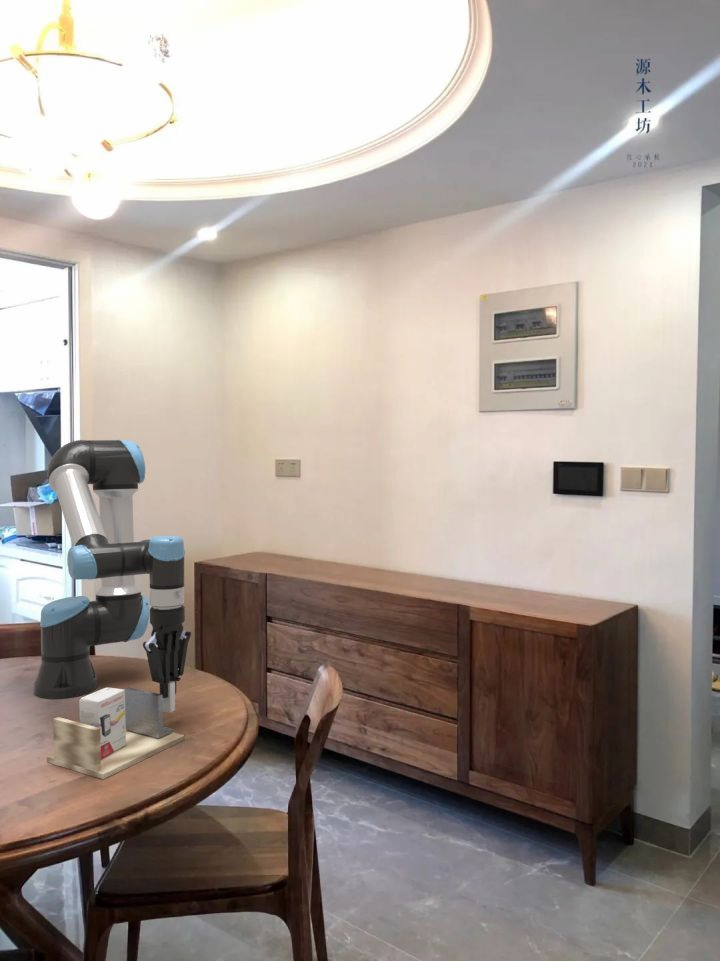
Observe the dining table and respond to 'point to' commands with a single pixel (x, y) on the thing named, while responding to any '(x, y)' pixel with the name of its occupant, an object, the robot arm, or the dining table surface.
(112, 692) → the ink box
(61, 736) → the rack
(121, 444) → the robot arm
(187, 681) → the dining table surface
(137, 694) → the bookend
